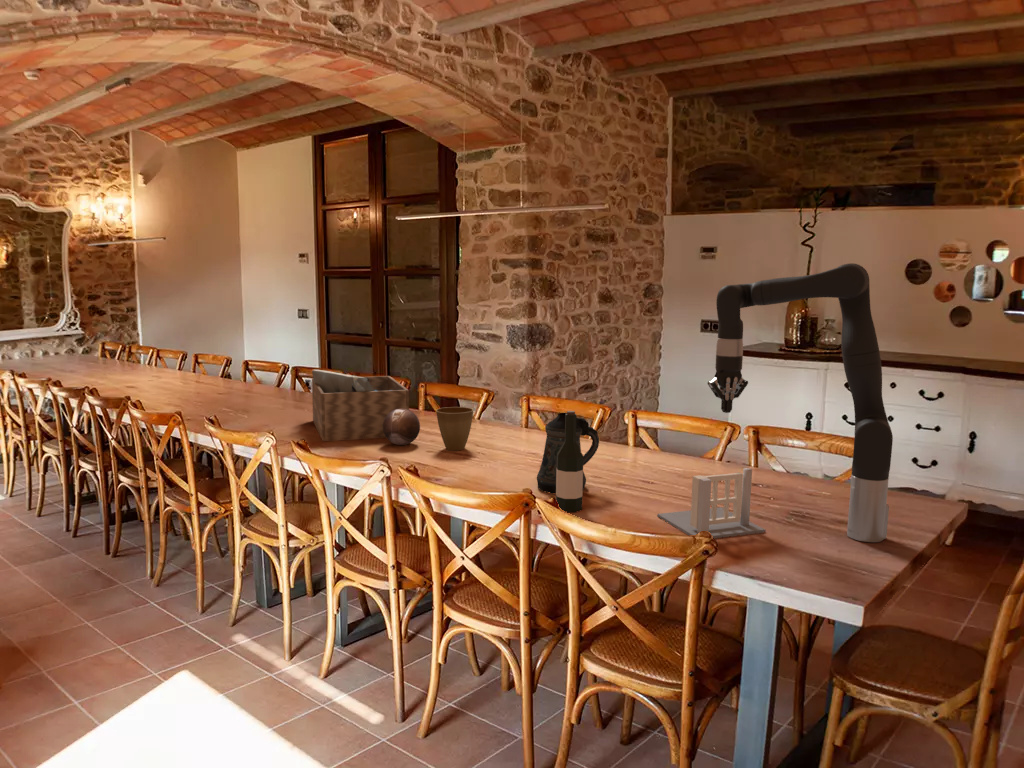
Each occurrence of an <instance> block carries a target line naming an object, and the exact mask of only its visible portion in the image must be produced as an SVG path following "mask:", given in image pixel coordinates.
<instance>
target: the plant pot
mask: <svg viewBox="0 0 1024 768" xmlns="http://www.w3.org/2000/svg"><path fill="white" fill-rule="evenodd" d="M435 411H436V412H435V413H436V419H437V424H438V429H439V431H440V435H441V438H442V441H443V444H444V447H445V450H447V451H452V452H453V451H456V452H457V451H464V450H465V448H466V445H467V444H468V443H467V442H468V439H469V435H470V432H471V428H472V424H473V417H474V409H473V408H471V407H464V406H449V407H448V406H447V407H440V408H437V409H436V410H435Z"/></svg>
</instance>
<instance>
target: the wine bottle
mask: <svg viewBox="0 0 1024 768" xmlns="http://www.w3.org/2000/svg"><path fill="white" fill-rule="evenodd" d="M566 413H567V414H565V442H564V443H563V445H562V446H561V448H560V450H559V451H558V453H557V469H556V494H555V501H556V500H557V502H558V504H559V507H560V508H561V509H562V510H564V511H567V512H566V513H578V512H580V510H581V511H582V510H583V491H584V490H583V472H584V466H583V456H584V455H583V453H582V450H581V451H580V449H579V447H578V445H577V443H576V417H577V414H576V411H574V410H567V411H566ZM577 511H578V512H577Z"/></svg>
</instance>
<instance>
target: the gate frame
mask: <svg viewBox="0 0 1024 768" xmlns="http://www.w3.org/2000/svg"><path fill="white" fill-rule="evenodd" d="M742 474H743V479H742V497H741V515H740V522H729V523H721V524H712V525H709V519H711V510H712V507H711V505H710V499H712V482H711V480H710V479H708V478H704V479H700V483H699V504H698V525H697V528H695V527H693V526H691V525H690V522H691V509H690V510H683V511H682V510H681V511H673V512H672V511H671V512H663V513H657V516H658V517H657V518H659V517H660V518H659V519H661V520H662V519H663V520H662V521H664V520H665V521H664V522H666V523H667V522H668V524H669V525H670V526H672V527H674V528H676V529H677V530H679V531H680V532H681V533H684V534H686V535H687V536H689V535H696V534H698V533H699V532H701V531H708V532H710V533H711V535H712V536H713V538H714V539H721V538H722V537H723V538H729V536H731V537H738V536H737V535H740V536H747V535H746V534H748V535H755V533H756V534H764V533H763V532H765V533H766V529H765V528H764V527H762V526H759V525H757V524H755V523H754V522H752V521H750V514H751V501H752V499H751V497H752V479H753V469H752V468H749V467H743V469H742ZM723 512H724V507H721V506H720V507H717V514H716V518H723ZM732 516H733V511H729V515H728V517H732Z"/></svg>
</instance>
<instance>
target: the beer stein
mask: <svg viewBox="0 0 1024 768" xmlns="http://www.w3.org/2000/svg"><path fill="white" fill-rule="evenodd" d="M565 414H567V412H559V413H558V414H557V416H556V417H555V418H553V419H552V420H551V421H549V422H547V424H546V425H545V427H544V429H545V433H546V439H545V444H544V450H543V455H542V461H541V465H540V467H539V471H538V473H537V475H536V481H537V482H536V483H537V488H538V489H539V491H541V492H544V491H546V492H545V493H548V492H550V493H549V494H553V493H556V469H557V453H558V451H559V450H560V448H561V446H562V445H563V443H564V442H565ZM581 436H583V437H584V436H589V437H590V438H591V441H592V442H591V446H590V447H589V449H588V450H587V452H585V453H584V455H583V467H584V466H585V465H586V464H587V463H589V462H590V460H591V459H592V458H593V457H594V456H595V454H596V453H597V451H598V449H599V446H600V445H599V444H600V437H599V432H598V431H597V430H596V429H595V428H593V427H591V426H590V424H589V422H588V421H587V420H586V419H585V418H582V417H577V416H576V443H577V445H578V447H579V449H580V451H581V452H582V447H581ZM586 483H587V477H586V475H585V472H584V471H583V491H584V490H585V487H586Z"/></svg>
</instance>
